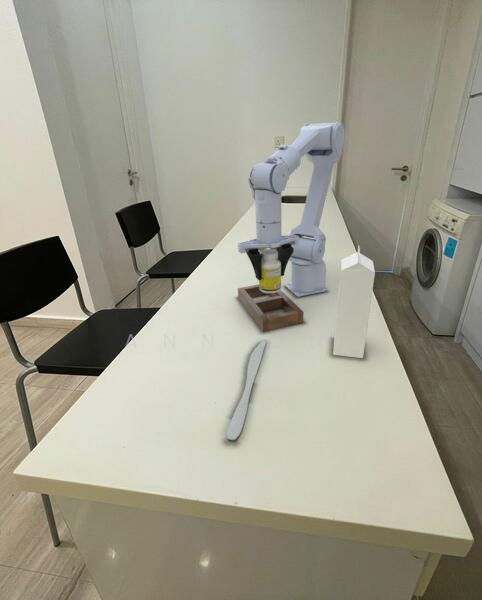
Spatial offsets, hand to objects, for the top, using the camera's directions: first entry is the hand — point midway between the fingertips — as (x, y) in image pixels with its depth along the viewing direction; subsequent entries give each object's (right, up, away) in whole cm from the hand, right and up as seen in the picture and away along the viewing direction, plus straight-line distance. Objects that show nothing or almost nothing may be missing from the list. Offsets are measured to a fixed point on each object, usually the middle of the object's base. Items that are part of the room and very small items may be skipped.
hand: (269, 276), depth 80 cm
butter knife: (-5, -21, -18) cm, 28 cm away
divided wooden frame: (0, -8, +7) cm, 11 cm away
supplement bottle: (0, -3, +2) cm, 4 cm away
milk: (+16, -16, -10) cm, 25 cm away
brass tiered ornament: (+1, +10, +42) cm, 44 cm away
